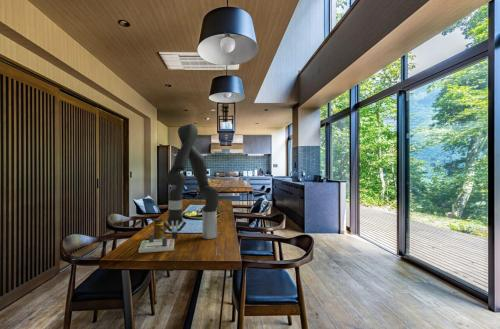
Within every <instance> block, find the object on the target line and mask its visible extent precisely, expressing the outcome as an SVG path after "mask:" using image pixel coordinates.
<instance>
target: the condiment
mask: <svg viewBox="0 0 500 329" xmlns="http://www.w3.org/2000/svg"><path fill="white" fill-rule="evenodd" d="M164 227H165V226H164V219H163V218H156V219H154V224H153V234H154V240H162V238H163V237H165V236H164V232H165V231H164V230H165V229H164Z"/></svg>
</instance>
